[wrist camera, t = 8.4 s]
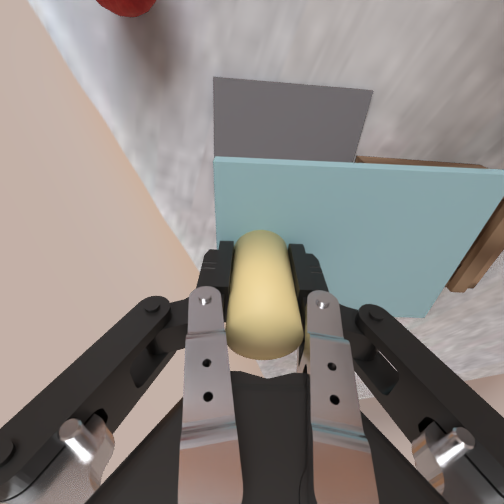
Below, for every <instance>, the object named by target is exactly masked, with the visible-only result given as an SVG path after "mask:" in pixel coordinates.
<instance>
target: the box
mask: <svg viewBox="0 0 504 504" xmlns="http://www.w3.org/2000/svg"><path fill="white" fill-rule="evenodd" d="M355 163H371V164H392V165H414V166H435V167H457V168H478V169H489V168H486V167H484V166H482V165H476V164H462V163H448V162H435V161H421V160H407V159H394V158H380V157H366V156H356V160H355ZM503 250H504V197H503V198H502V200H501V201H500V203H499V204H498V206H497V207H496V209H495V210H494V212H493V213H492V215H491V216H490V218H489V219H488V221H487V223H486V224H485V226H484V227H483V229H482V230H481V232H480V233H479V235H478V236H477V238H476V239H475V241H474V242H473V244H472V245H471V247H470V249H469V250H468V252H467V253H466V255H465V256H464V258H463V259H462V261H461V262H460V264H459V265H458V267H457V268H456V270H455V271H454V273H453V275H452V276H451V278H450V279H449V281H448V282H447V284H446V285H445V287H447V288H448V289H449V290H450V291H451V292H463V293H464V292H465V291H466V289H467V288H474V287H475V286H476V285H477V283H478V282H479V281H480V279H481V278H482V277H483V275H484V274H485V273H486V272H487V270H488V269H489V268H490V266H491V265H492V264H493V263H494V261H495V260H496V259H497V257H498V256H499V255H500V253H501V252H502V251H503Z"/></svg>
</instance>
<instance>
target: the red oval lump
mask: <svg viewBox="0 0 504 504" xmlns="http://www.w3.org/2000/svg"><path fill="white" fill-rule="evenodd" d="M96 1H97V2H98V3H99V4H100V5H101V6H102V7H104V8H106V9H108V10H110V11H111V12H113V13H115V14H117V15H119V16H125V17H137V16H139V15H142V14H144V13H146V12H148V11H149V10H150V8H151V7H152V6H153V4H154V3H155V2H156V0H96Z"/></svg>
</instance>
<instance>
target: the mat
mask: <svg viewBox="0 0 504 504" xmlns="http://www.w3.org/2000/svg"><path fill="white" fill-rule="evenodd" d="M213 90H214V158H215V156H220V157H241V158H263V159H285V160H306V161H328V162H349V163H353V159H354V156H355V152H356V149H357V145H358V142H359V138H360V135H361V132H362V128H363V125H364V121H365V118H366V114H367V111H368V108H369V104H370V101H371V97H372V94H373V90H363V89H352V88H340V87H328V86H316V85H304V84H292V83H280V82H269V81H257V80H245V79H233V78H221V77H213Z"/></svg>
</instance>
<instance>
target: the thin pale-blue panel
mask: <svg viewBox="0 0 504 504" xmlns="http://www.w3.org/2000/svg"><path fill="white" fill-rule="evenodd" d="M213 167H214V191H215V216H216V240H217V250H218V249H219V244H220V241H234V253H233V263H232V273H231V283H230V293H229V302H228V309H227V319H226V329H225V332H226V339H227V345H228V346H229V347H230V349H231V350H233V351H234V352H235V353H237V354H239V355H241V356H243V357H246V358H250V359H255V360H271V359H277V358H281V357H284V356H286V355H288V354H290V353H292V352H293V351H295V350H296V349H297V348H298V347H299V346H300V344H301V343H302V340H303V336H304V335H303V328H302V323H301V317H300V312H299V307H298V302H297V297H296V292H295V287H294V281H293V276H292V271H291V265H290V260H289V255H288V245H289V243H290V244H303V245H304V248H305V252H306V253H309V254H313V255H314V256H315V257H316V258H317V259H318V260H319V263H320V266H321V269H322V273H323V275H324V278H325V281H326V284H327V287H328V290H329V293H331V294H332V295H334V296H335V297H336V298H337V300H338V302H339V304H341V305H343V306H346V307H350V308H353V309H357V310H359V308H360V307H361V306H362V305H365V304H374V305H377V306H380V307H382V308H384V309H385V310H386V311H388V312H389V313H390V314H391V315H392V316H393V317H412V318H424V317H425V316H426V314H427V313H428V311H429V310H430V308H431V307H432V305H433V304H434V302H435V301H436V299H437V297H438V296H439V294H440V293H441V291H442V290H443V288H444V287H445V285H446V284H447V282H448V281H449V279H450V278H451V276H452V275H453V273H454V271H455V270H456V268H457V267H458V265H459V264H460V262H461V261H462V259H463V258H464V256H465V255H466V253H467V252H468V250H469V249H470V247H471V245H472V244H473V242H474V241H475V239H476V238H477V236H478V235H479V233H480V232H481V230H482V229H483V227H484V226H485V224H486V223H487V221H488V219H489V218H490V216H491V215H492V213H493V212H494V210H495V209H496V207H497V206H498V204H499V203H500V201H501V200H502V198H503V197H504V170H500V169H478V168H457V167H435V166H414V165H392V164H371V163H349V162H328V161H306V160H285V159H263V158H241V157H220V156H215V158H214V161H213Z"/></svg>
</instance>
